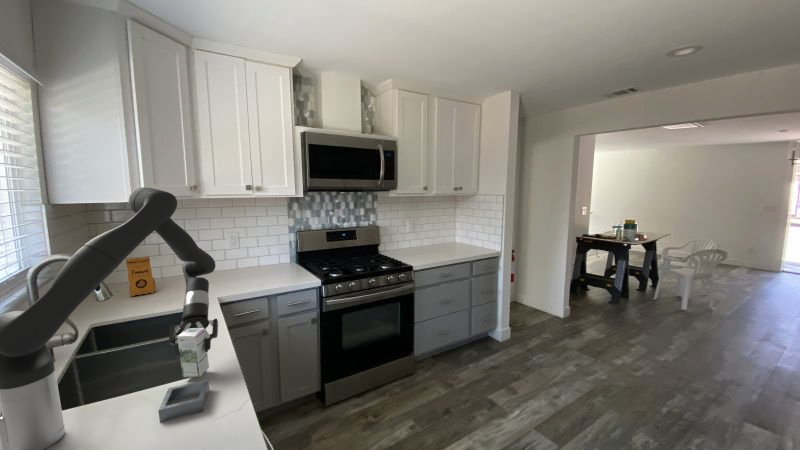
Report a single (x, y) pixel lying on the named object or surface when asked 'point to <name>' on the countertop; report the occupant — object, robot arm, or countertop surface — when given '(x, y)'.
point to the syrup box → (193, 352)
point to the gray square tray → (187, 407)
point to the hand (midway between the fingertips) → (192, 353)
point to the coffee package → (140, 276)
